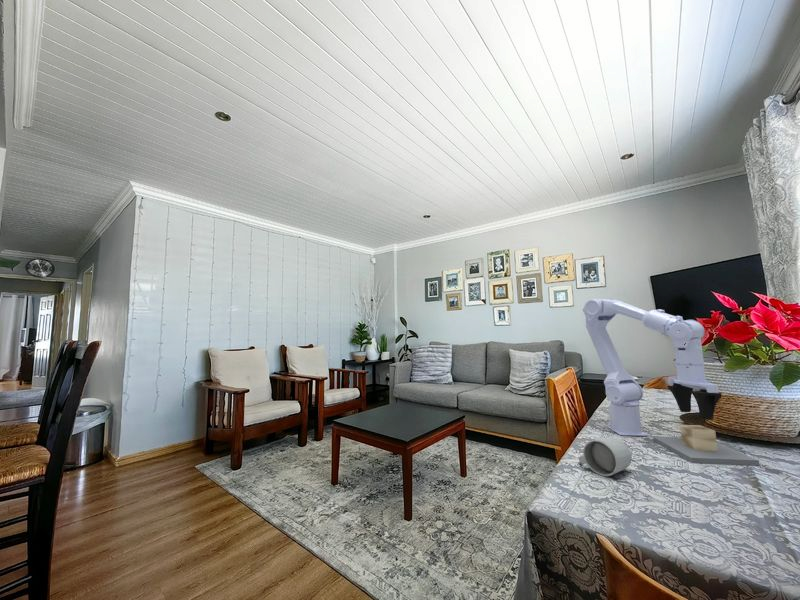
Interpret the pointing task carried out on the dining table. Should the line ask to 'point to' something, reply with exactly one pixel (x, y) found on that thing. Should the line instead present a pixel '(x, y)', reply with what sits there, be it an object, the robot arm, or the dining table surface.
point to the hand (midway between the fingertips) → (695, 415)
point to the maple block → (698, 437)
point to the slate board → (706, 453)
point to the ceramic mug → (606, 456)
